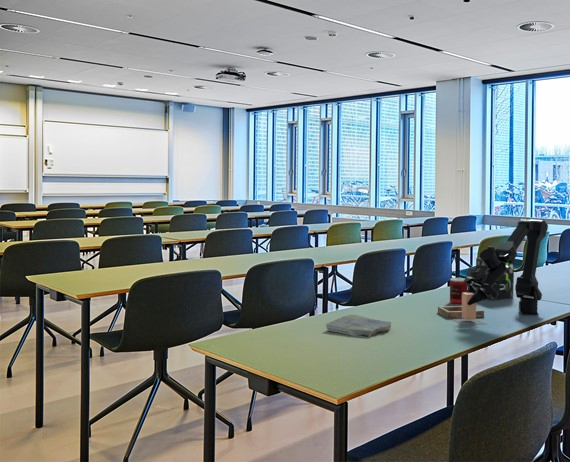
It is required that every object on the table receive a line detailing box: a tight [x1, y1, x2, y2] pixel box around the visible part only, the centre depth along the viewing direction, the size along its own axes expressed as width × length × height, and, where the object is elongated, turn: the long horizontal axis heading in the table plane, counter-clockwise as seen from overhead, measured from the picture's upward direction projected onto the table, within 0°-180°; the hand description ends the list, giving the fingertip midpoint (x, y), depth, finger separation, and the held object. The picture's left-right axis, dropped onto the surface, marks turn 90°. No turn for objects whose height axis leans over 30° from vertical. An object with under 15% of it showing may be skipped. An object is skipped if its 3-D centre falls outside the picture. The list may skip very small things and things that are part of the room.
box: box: [475, 257, 515, 301], centre depth 286 cm, size 14×12×19 cm
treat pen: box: [437, 305, 485, 319], centre depth 253 cm, size 17×22×3 cm
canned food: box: [449, 277, 468, 305], centre depth 273 cm, size 8×8×11 cm
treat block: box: [461, 292, 477, 320], centre depth 235 cm, size 4×4×10 cm
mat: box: [451, 318, 487, 326], centre depth 236 cm, size 10×10×1 cm
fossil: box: [325, 314, 392, 339], centre depth 226 cm, size 20×5×17 cm
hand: (465, 303), depth 235 cm, fingers closed on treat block, 4 cm apart
